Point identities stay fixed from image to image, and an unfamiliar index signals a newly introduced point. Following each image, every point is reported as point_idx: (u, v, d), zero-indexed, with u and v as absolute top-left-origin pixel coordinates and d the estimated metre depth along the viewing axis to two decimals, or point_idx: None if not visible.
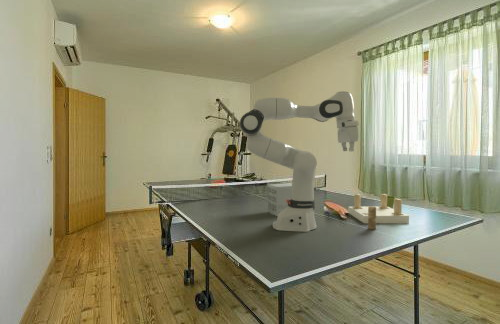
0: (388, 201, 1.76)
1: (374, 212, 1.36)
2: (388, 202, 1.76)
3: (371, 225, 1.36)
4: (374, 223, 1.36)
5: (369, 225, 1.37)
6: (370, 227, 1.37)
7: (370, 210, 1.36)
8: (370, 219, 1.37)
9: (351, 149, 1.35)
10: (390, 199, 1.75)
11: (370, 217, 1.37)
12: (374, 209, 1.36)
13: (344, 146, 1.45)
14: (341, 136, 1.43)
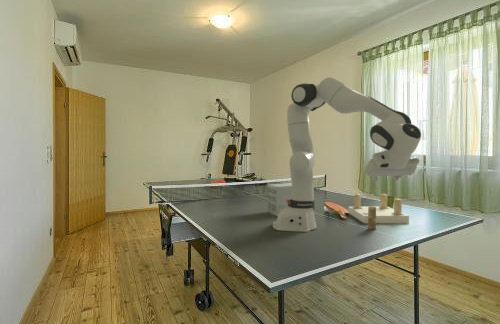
0: (388, 201, 1.76)
1: (374, 212, 1.36)
2: (388, 202, 1.76)
3: (371, 225, 1.36)
4: (374, 223, 1.36)
5: (369, 225, 1.37)
6: (370, 227, 1.37)
7: (370, 210, 1.36)
8: (370, 219, 1.37)
9: (373, 178, 1.24)
10: (390, 199, 1.75)
11: (370, 217, 1.37)
12: (374, 209, 1.36)
13: (398, 175, 1.23)
14: None
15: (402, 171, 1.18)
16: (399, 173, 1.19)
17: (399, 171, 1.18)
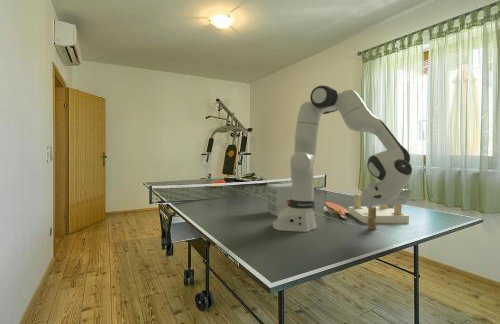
0: None
1: (374, 212, 1.36)
2: None
3: (371, 225, 1.36)
4: (374, 223, 1.36)
5: (369, 225, 1.37)
6: (370, 227, 1.37)
7: (370, 210, 1.36)
8: (370, 219, 1.37)
9: (367, 205, 1.30)
10: None
11: (370, 217, 1.37)
12: (374, 209, 1.36)
13: None
14: None
15: (395, 201, 1.24)
16: (392, 202, 1.25)
17: (392, 201, 1.24)
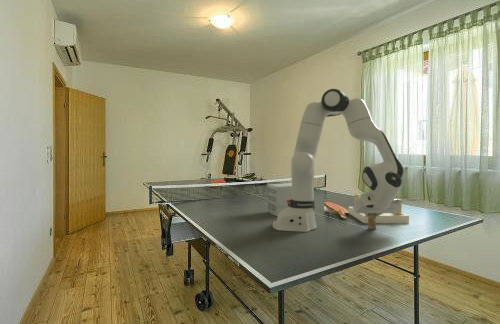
0: None
1: None
2: None
3: (371, 225, 1.36)
4: (374, 223, 1.36)
5: (369, 225, 1.37)
6: (370, 227, 1.37)
7: None
8: (370, 219, 1.37)
9: (365, 214, 1.38)
10: None
11: (370, 217, 1.37)
12: None
13: (379, 212, 1.36)
14: None
15: (386, 210, 1.31)
16: (384, 211, 1.32)
17: (384, 210, 1.31)
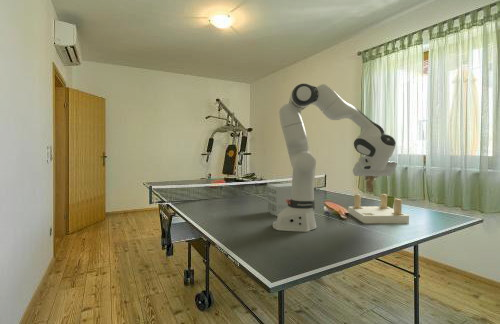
0: (388, 201, 1.76)
1: None
2: (388, 202, 1.76)
3: (369, 188, 1.48)
4: (371, 185, 1.48)
5: (367, 188, 1.49)
6: (368, 189, 1.48)
7: None
8: (368, 182, 1.48)
9: (363, 177, 1.49)
10: (390, 199, 1.75)
11: (368, 180, 1.48)
12: None
13: (376, 176, 1.48)
14: None
15: (383, 172, 1.43)
16: (380, 174, 1.44)
17: (380, 172, 1.43)
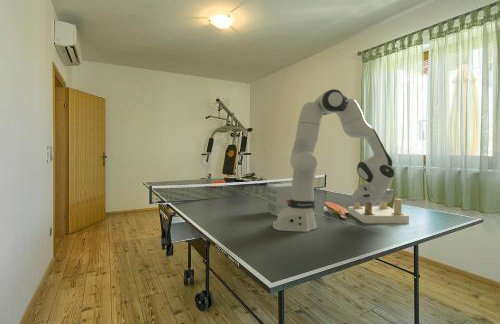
0: None
1: (370, 204, 1.50)
2: None
3: None
4: (370, 214, 1.50)
5: None
6: None
7: None
8: (366, 210, 1.50)
9: (358, 203, 1.52)
10: None
11: (366, 208, 1.50)
12: None
13: None
14: None
15: (381, 199, 1.45)
16: (379, 201, 1.46)
17: (379, 199, 1.45)
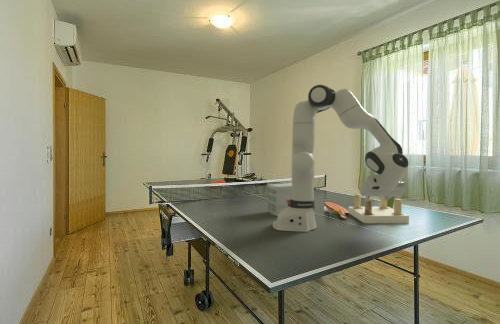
0: (388, 201, 1.76)
1: (370, 204, 1.50)
2: (388, 202, 1.76)
3: None
4: (370, 214, 1.50)
5: None
6: None
7: (366, 202, 1.50)
8: (366, 210, 1.50)
9: (366, 197, 1.39)
10: (390, 199, 1.75)
11: (366, 208, 1.50)
12: (370, 201, 1.50)
13: (388, 196, 1.37)
14: None
15: (392, 193, 1.32)
16: (389, 194, 1.33)
17: (389, 193, 1.32)
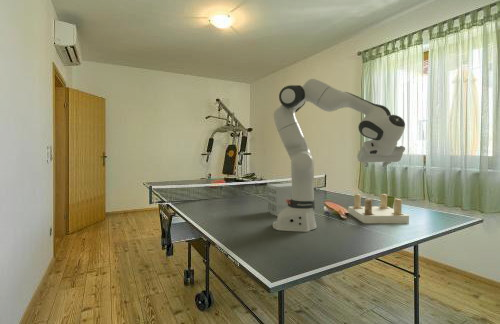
0: (388, 201, 1.76)
1: (370, 204, 1.50)
2: (388, 202, 1.76)
3: None
4: (370, 214, 1.50)
5: None
6: None
7: (366, 202, 1.50)
8: (366, 210, 1.50)
9: (364, 164, 1.39)
10: (390, 199, 1.75)
11: (366, 208, 1.50)
12: (370, 201, 1.50)
13: (386, 162, 1.37)
14: None
15: (390, 158, 1.32)
16: (387, 160, 1.33)
17: (387, 158, 1.32)
